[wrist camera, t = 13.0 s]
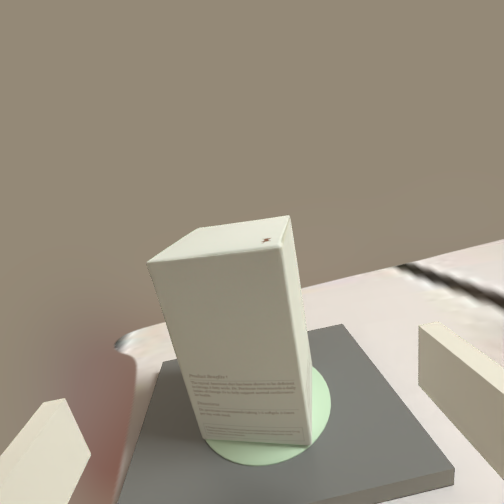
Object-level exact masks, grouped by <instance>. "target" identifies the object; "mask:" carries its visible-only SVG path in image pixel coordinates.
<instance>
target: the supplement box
mask: <svg viewBox="0 0 504 504" xmlns="http://www.w3.org/2000/svg"><path fill="white" fill-rule="evenodd" d="M146 264H147V267H148V270H149V273H150V275H151V278H152V281H153V284H154V287H155V290H156V293H157V297H158V299H159V303H160V306H161V309H162V312H163V315H164V319H165V322H166V325H167V328H168V331H169V335H170V338H171V341H172V344H173V347H174V351H175V354H176V357H177V360H178V363H179V367H180V370H181V373H182V376H183V379H184V382H185V385H186V388H187V392H188V395H189V398H190V401H191V404H192V407H193V410H194V413H195V416H196V419H197V422H198V425H199V429H200V432H201V435H202V438H203V439H212V440H230V441H246V442H263V443H278V444H295V445H312V360H311V353H310V347H309V340H308V334H307V327H306V320H305V313H304V306H303V300H302V293H301V286H300V280H299V279H300V278H299V272H298V266H297V259H296V252H295V246H294V239H293V232H292V226H291V220H290V216H281V217H274V218H268V219H262V220H255V221H247V222H240V223H234V224H226V225H219V226H212V227H204V228H198V229H196V230H195V231H193V232H191V233H190V234H188V235H186V236H185V237H183V238H182V239H180V240H179V241H177V242H176V243H174V244H173V245H171V246H170V247H168V248H167V249H165V250H164V251H162V252H161V253H159V254H158V255H156V256H155V257H153V258H152V259H150V260H149V261H147V262H146Z"/></svg>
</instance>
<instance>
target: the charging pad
mask: <svg viewBox="0 0 504 504" xmlns="http://www.w3.org/2000/svg"><path fill="white" fill-rule="evenodd" d="M307 334H308V340H309V347H310V353H311V360H312V445H295V444H278V443H263V442H246V441H230V440H212V439H203V438H202V435H201V432H200V429H199V425H198V422H197V419H196V416H195V413H194V410H193V407H192V404H191V401H190V398H189V395H188V392H187V388H186V385H185V382H184V379H183V376H182V373H181V370H180V367H179V363H178V360H177V359H175V360H170V361H165V362H163V364H162V367H161V370H160V373H159V376H158V379H157V382H156V385H155V388H154V392H153V395H152V398H151V401H150V404H149V407H148V410H147V413H146V416H145V419H144V423H143V426H142V429H141V432H140V435H139V438H138V441H137V444H136V447H135V450H134V454H133V457H132V460H131V463H130V466H129V469H128V472H127V475H126V478H125V481H124V484H123V488H122V491H121V494H120V497H119V500H118V503H117V504H375V503H379V502H384V501H388V500H392V499H396V498H400V497H404V496H408V495H413V494H417V493H421V492H425V491H429V490H433V489H437V488H441V487H446V486H450V485H454V472H455V468H454V467H453V465H452V464H451V463H450V461H449V460H448V459H447V458H446V456H445V455H444V454H443V452H442V451H441V450H440V449H439V447H438V446H437V445H436V443H435V442H434V441H433V440H432V438H431V437H430V436H429V434H428V433H427V432H426V431H425V429H424V428H423V427H422V426H421V424H420V423H419V422H418V420H417V419H416V418H415V417H414V415H413V414H412V413H411V411H410V410H409V409H408V408H407V406H406V405H405V404H404V402H403V401H402V400H401V399H400V397H399V396H398V395H397V393H396V392H395V391H394V390H393V388H392V387H391V386H390V384H389V383H388V382H387V381H386V379H385V378H384V377H383V375H382V374H381V373H380V372H379V370H378V369H377V368H376V366H375V365H374V364H373V363H372V361H371V360H370V359H369V357H368V356H367V355H366V354H365V352H364V351H363V350H362V348H361V347H360V346H359V345H358V343H357V342H356V341H355V339H354V338H353V337H352V336H351V334H350V333H349V332H348V330H347V329H346V328H345V327H344V325H343V324H340V325H335V326H330V327H326V328H321V329H316V330H311V331H307Z"/></svg>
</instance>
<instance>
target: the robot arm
mask: <svg viewBox="0 0 504 504" xmlns="http://www.w3.org/2000/svg"><path fill="white" fill-rule="evenodd" d="M418 385H419V386H420V387H421V388H422V390H423V391H424V392H425V393H426V394H427V395H428V396H429V397H430V398H431V400H432V401H433V402H434V403H435V404H436V405H437V406H438V407H439V409H440V410H441V411H442V412H443V413H444V414H445V415H446V416H447V417H448V419H449V420H450V421H451V422H452V423H453V424H454V425H455V426H456V427H457V429H458V430H459V431H460V432H461V433H462V434H463V435H464V436H465V438H466V439H467V440H468V441H469V442H470V443H471V444H472V445H473V446H474V448H475V449H476V450H477V451H478V452H479V453H480V454H481V455H482V457H483V458H484V459H485V460H486V461H487V462H488V463H489V464H490V465H491V467H492V468H493V469H494V470H495V471H496V472H497V473H498V474H499V476H500V477H501V478H502V479H503V480H504V368H503V367H502V366H500V365H499V364H498V363H496V362H495V361H493V360H492V359H491V358H489V357H488V356H486V355H485V354H483V353H482V352H481V351H479V350H478V349H476V348H475V347H474V346H472V345H471V344H469V343H468V342H467V341H465V340H464V339H462V338H461V337H460V336H458V335H457V334H455V333H454V332H452V331H451V330H450V329H448V328H447V327H445V326H444V325H443V324H441V323H440V322H433V323H428V324H423V325H419V348H418ZM90 456H91V453H90V451H89V448H88V446H87V444H86V442H85V440H84V438H83V436H82V434H81V431H80V429H79V427H78V425H77V423H76V421H75V419H74V417H73V414H72V412H71V410H70V408H69V406H68V404H67V401H66V399H65V398H63V399H58V400H53V401H49V402H44V403H43V404H42V405H41V406H40V407H39V409H38V410H37V411H36V412H35V414H34V415H33V416H32V418H31V419H30V420H29V421H28V422H27V424H26V425H25V426H24V427H23V429H22V430H21V431H20V433H19V434H18V435H17V436H16V438H15V439H14V440H13V441H12V442H11V444H10V445H9V446H8V448H7V449H6V450H5V451H4V453H3V454H2V455H1V456H0V504H68V502H69V499H70V497H71V495H72V493H73V491H74V489H75V487H76V485H77V483H78V481H79V479H80V477H81V475H82V472H83V470H84V468H85V466H86V464H87V462H88V460H89V458H90Z"/></svg>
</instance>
